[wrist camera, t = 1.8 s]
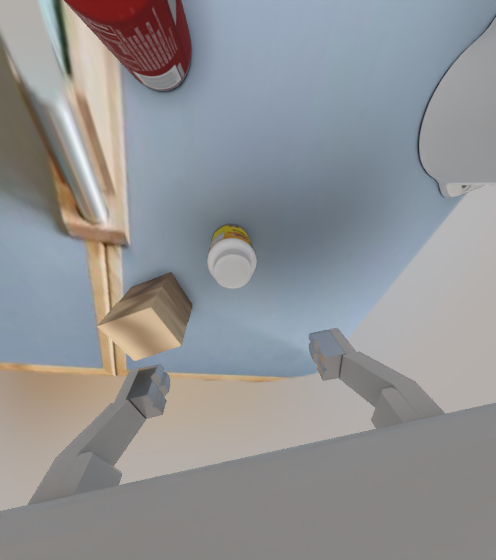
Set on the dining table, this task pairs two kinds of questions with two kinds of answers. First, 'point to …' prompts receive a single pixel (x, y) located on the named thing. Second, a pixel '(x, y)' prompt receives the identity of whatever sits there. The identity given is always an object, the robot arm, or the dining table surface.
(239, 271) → the supplement bottle
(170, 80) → the soda can
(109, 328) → the tower top block
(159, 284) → the tower base block
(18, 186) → the dining table surface
